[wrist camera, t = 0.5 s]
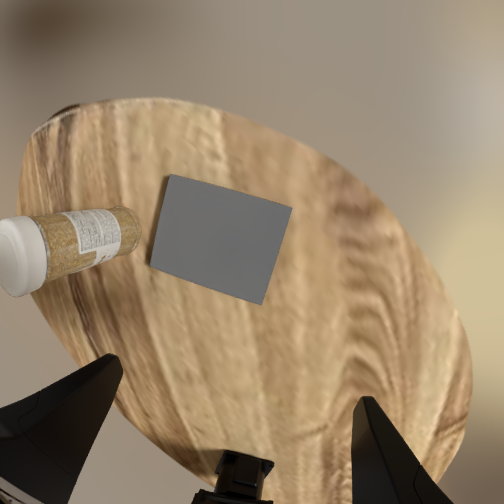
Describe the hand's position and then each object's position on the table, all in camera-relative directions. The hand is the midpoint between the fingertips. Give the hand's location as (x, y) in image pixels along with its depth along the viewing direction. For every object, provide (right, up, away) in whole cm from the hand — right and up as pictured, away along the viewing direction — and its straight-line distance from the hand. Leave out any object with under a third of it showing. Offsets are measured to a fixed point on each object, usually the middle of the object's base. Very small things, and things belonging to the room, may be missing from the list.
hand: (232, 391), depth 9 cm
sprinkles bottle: (-11, +7, +15) cm, 20 cm away
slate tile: (-2, +6, +14) cm, 15 cm away
